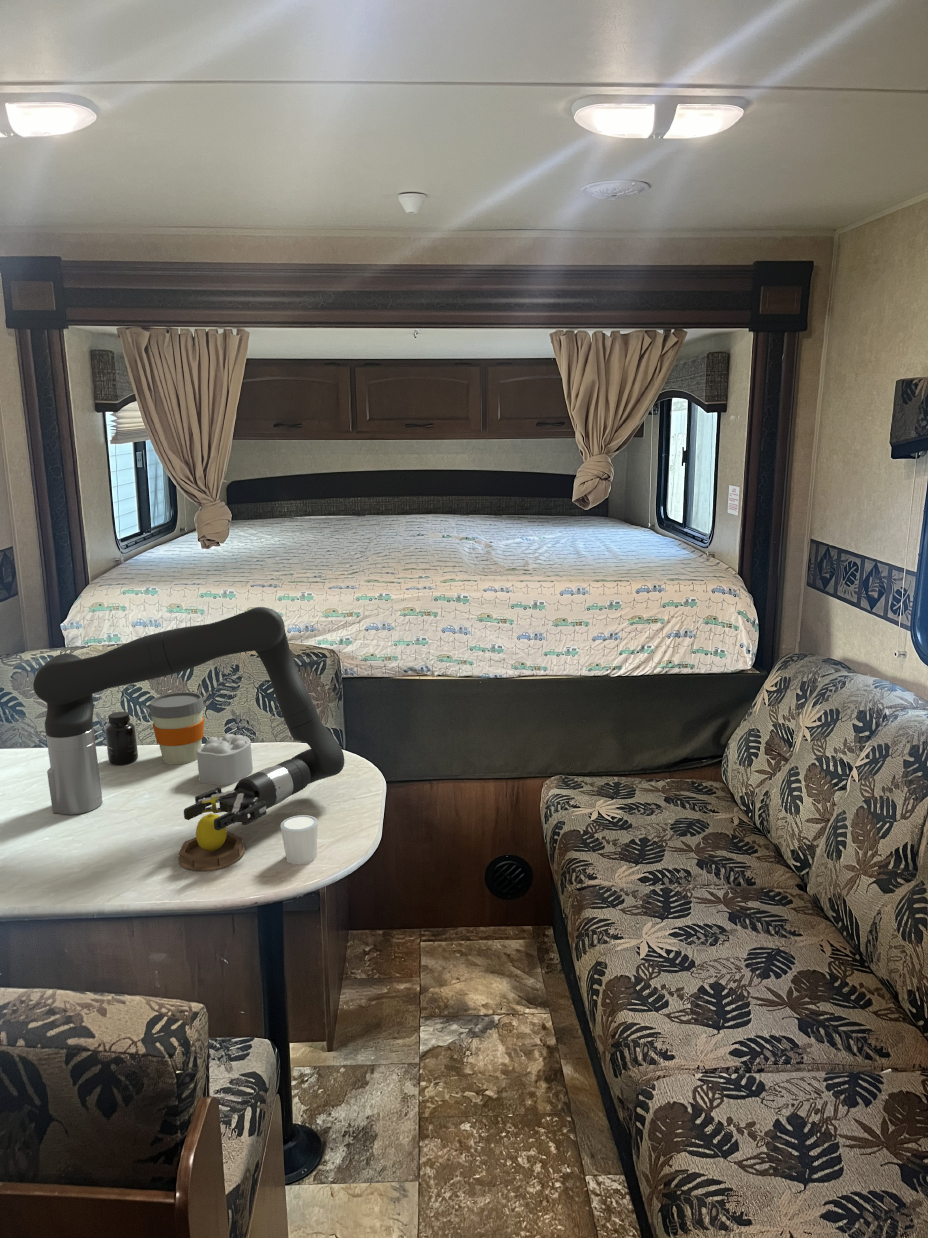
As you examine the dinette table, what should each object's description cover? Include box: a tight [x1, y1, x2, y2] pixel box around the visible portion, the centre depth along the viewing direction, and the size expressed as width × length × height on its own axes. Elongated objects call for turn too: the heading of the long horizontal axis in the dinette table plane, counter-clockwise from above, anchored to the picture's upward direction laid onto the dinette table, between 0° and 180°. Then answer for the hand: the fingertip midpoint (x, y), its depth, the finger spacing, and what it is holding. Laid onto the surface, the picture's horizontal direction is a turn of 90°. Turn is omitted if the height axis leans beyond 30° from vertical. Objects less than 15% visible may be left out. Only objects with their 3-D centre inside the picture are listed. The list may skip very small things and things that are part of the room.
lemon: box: [195, 812, 228, 852], centre depth 163 cm, size 6×6×8 cm
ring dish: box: [178, 831, 246, 872], centre depth 163 cm, size 12×12×2 cm
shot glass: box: [280, 814, 319, 865], centre depth 161 cm, size 7×7×7 cm
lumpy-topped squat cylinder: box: [196, 733, 254, 786], centre depth 202 cm, size 10×13×9 cm
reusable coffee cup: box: [149, 691, 205, 765], centre depth 212 cm, size 13×13×15 cm
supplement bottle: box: [104, 711, 139, 766], centre depth 211 cm, size 7×7×12 cm
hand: (200, 820), depth 160 cm, fingers open, 8 cm apart
